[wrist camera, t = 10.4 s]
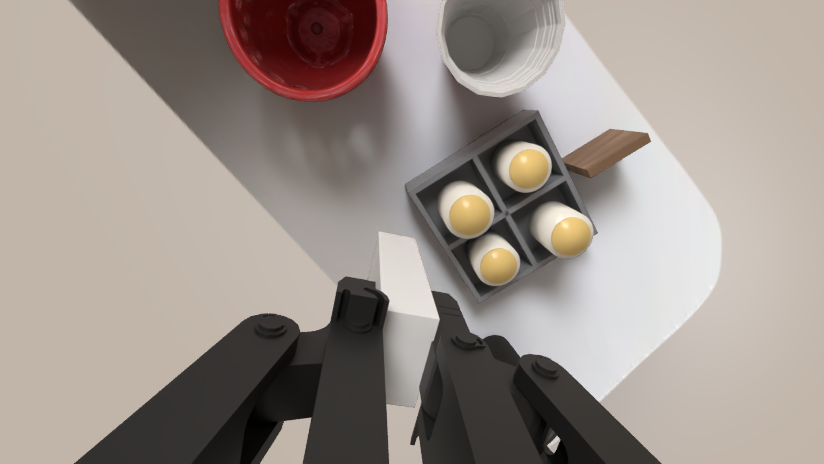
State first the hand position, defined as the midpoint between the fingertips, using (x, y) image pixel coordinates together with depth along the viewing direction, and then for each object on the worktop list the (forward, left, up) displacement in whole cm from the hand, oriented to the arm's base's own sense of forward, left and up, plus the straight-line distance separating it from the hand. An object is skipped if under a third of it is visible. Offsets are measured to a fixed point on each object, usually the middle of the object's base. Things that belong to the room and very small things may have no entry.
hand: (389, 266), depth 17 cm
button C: (+16, +5, -31) cm, 35 cm away
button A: (+8, +5, -28) cm, 30 cm away
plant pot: (-14, +2, -33) cm, 36 cm away
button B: (+8, +13, -31) cm, 34 cm away
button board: (+12, +9, -32) cm, 36 cm away
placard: (+12, +22, -32) cm, 41 cm away
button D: (+16, +13, -28) cm, 35 cm away
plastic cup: (-5, +15, -33) cm, 36 cm away
